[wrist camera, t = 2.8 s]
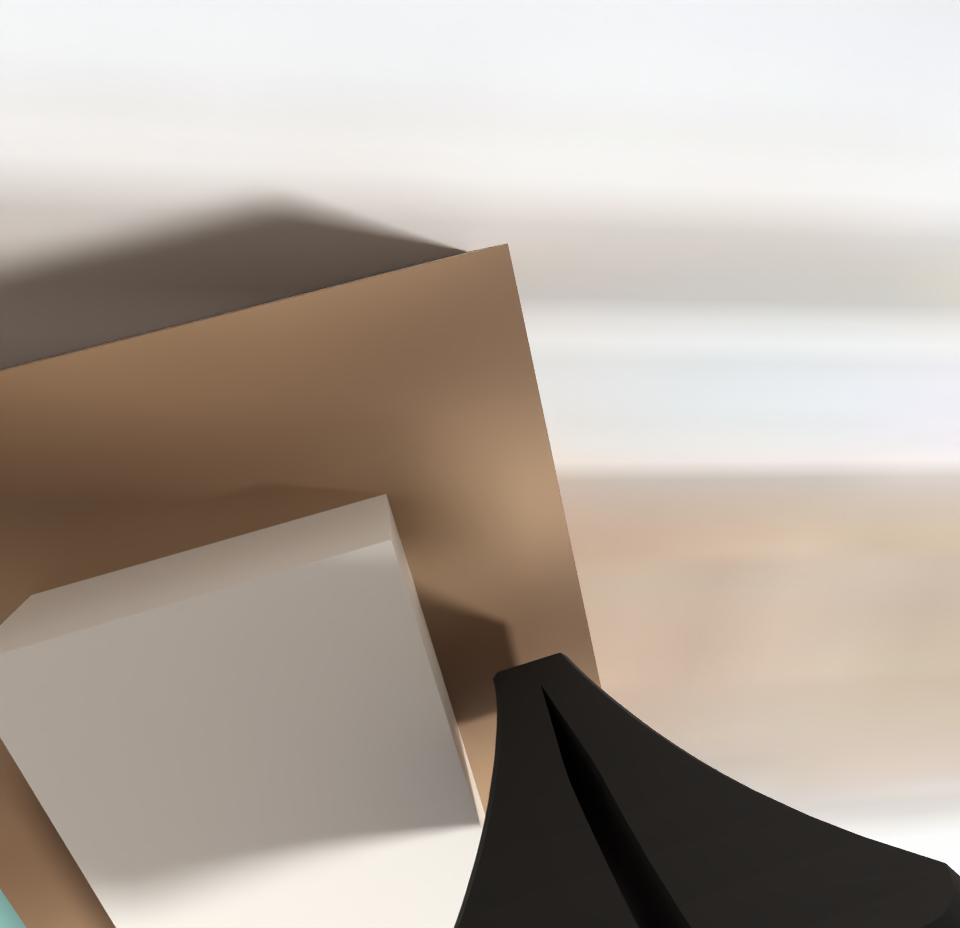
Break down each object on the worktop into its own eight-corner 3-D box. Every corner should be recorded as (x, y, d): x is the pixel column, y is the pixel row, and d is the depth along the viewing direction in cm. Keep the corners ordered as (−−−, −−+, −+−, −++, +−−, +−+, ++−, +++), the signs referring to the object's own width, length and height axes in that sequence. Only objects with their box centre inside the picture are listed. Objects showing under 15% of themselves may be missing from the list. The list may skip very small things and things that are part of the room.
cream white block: (501, 865, 14) (522, 959, 12) (227, 960, 13) (205, 1074, 11) (386, 493, 11) (390, 539, 9) (31, 594, 10) (-43, 666, 8)
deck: (594, 797, 19) (651, 928, 15) (195, 934, 18) (150, 1111, 14) (468, 251, 14) (507, 243, 10) (-102, 395, 13) (-299, 447, 9)
